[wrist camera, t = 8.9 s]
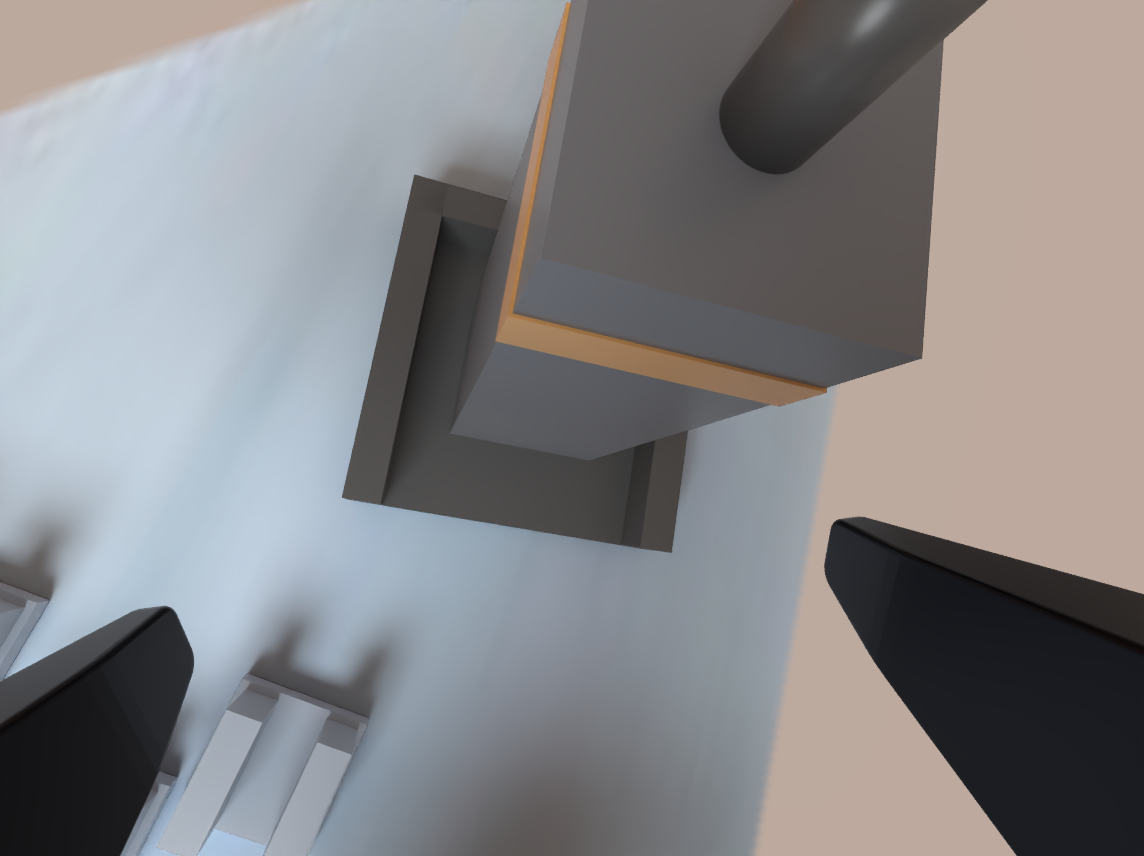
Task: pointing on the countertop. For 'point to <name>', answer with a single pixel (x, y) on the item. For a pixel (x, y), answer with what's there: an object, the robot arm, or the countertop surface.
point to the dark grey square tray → (428, 395)
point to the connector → (709, 218)
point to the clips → (236, 760)
